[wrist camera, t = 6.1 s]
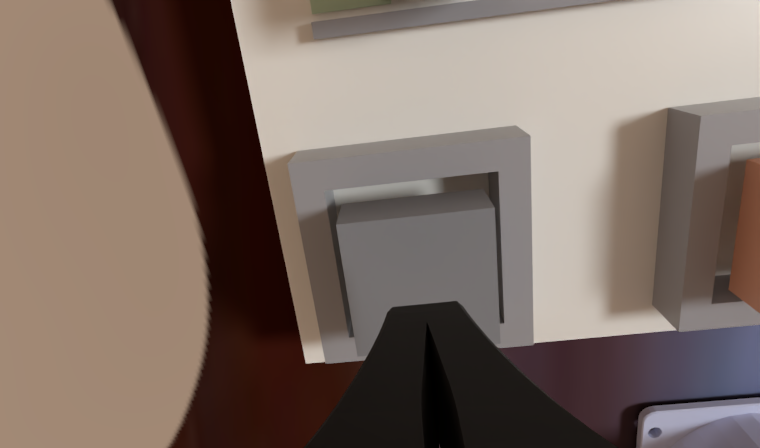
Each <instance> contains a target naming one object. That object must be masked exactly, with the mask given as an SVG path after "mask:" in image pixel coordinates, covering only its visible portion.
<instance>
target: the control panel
mask: <svg viewBox="0 0 760 448" xmlns="http://www.w3.org/2000/svg"><path fill="white" fill-rule="evenodd" d="M230 1H231V5H232V10H233V15H234V20H235V25H236V29H237V34H238V39H239V44H240V49H241V53H242V58H243V63H244V68H245V73H246V77H247V82H248V87H249V92H250V97H251V102H252V106H253V111H254V116H255V121H256V126H257V130H258V135H259V140H260V145H261V150H262V154H263V159H264V164H265V169H266V174H267V178H268V183H269V188H270V193H271V198H272V202H273V207H274V212H275V217H276V222H277V226H278V231H279V236H280V241H281V246H282V251H283V255H284V260H285V265H286V270H287V275H288V279H289V284H290V289H291V294H292V299H293V303H294V308H295V313H296V318H297V323H298V327H299V332H300V337H301V342H302V347H303V351H304V356H305V361H306V363H318V362H325V363H326V364H328V363H339V362H350V361H361V360H365V359H366V357H367V356H360V357H357V351H356V344H355V338H354V332H353V326H352V320H351V314H350V308H349V302H348V296H347V289H346V283H345V277H344V271H343V265H342V259H341V253H340V247H339V240H338V234H337V228H336V223H337V219H338V216H339V212H340V209H341V206H342V204H346V203H356V202H365V201H374V200H383V199H392V198H401V197H410V196H419V195H428V194H437V193H447V192H456V191H465V190H474V189H484V191H485V192H486V194H487V196H488V197H489V199H490V201H491V202H492V204H493V206H494V207H495V225H496V248H497V272H498V295H499V318H500V342H501V344H495V345H496V346H497V347H498V348H506V347H517V346H528V345H534V343H539V342H550V341H561V340H572V339H583V338H594V337H605V336H616V335H627V334H639V333H650V332H661V331H672V330H677V331H678V332H683V331H694V330H705V329H716V328H728V327H739V326H750V325H760V313H759V312H757V311H756V310H755V309H753V308H752V307H751V306H749V305H748V304H747V303H745V302H744V301H743V300H741V299H740V298H739V297H737V296H736V295H735V294H733V293H732V292H731V291H729V290H728V289H729V282H730V275H731V268H732V261H733V253H734V246H735V239H736V232H737V225H738V218H739V211H740V204H741V197H742V189H743V182H744V175H745V168H746V161H747V159H756V158H760V0H230Z"/></svg>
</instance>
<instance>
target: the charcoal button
mask: <svg viewBox="0 0 760 448" xmlns="http://www.w3.org/2000/svg"><path fill="white" fill-rule="evenodd" d="M336 228H337V234H338V240H339V247H340V253H341V259H342V265H343V271H344V277H345V283H346V289H347V296H348V302H349V308H350V314H351V320H352V326H353V332H354V338H355V344H356V351H357V357H360V356H367V355H368V354H369V352H370V350H371V348H372V346H373V344H374V342H375V340H376V338H377V336H378V334H379V332H380V330H381V327H382V325H383V323H384V320H385V317H386V314H387V312H388V311H389V310H390V309H391V308H392V307H398V306H408V305H418V304H429V303H439V302H449V301H458V302H459V303H460V304H461V305H462V306H463V307H464V308H465V310H466V311H467V312H468V314H469V315H470V316H471V318H472V319H473V320H474V321H475V323H476V324H477V325H478V326H479V327H480V329H481V330H482V331H483V332H484V333H485V334H486V336H487V337H488V338H489V339H490V340H491V341H492V342H493V343H494V344H501V342H500V318H499V295H498V272H497V248H496V225H495V207H494V206H493V204H492V202H491V201H490V199H489V197H488V196H487V194H486V192H485V191H484V189H474V190H465V191H456V192H447V193H437V194H428V195H419V196H410V197H401V198H392V199H383V200H374V201H365V202H356V203H346V204H342V206H341V209H340V212H339V216H338V219H337V223H336Z"/></svg>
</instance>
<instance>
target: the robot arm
mask: <svg viewBox="0 0 760 448" xmlns="http://www.w3.org/2000/svg"><path fill="white" fill-rule="evenodd" d="M655 427H656V428H655ZM652 428H654V429H653V430H650V429H652ZM649 430H650V431H649ZM439 444H440V448H618V447H616V446H615V445H613V444H612V443H610V442H609V441H607V440H606V439H604V438H603V437H601V436H600V435H598V434H597V433H596V432H594V431H593V430H591V429H590V428H589V427H587V426H586V425H585V424H583V423H582V422H581V421H579V420H578V419H577V418H575V417H574V416H573V415H571V414H570V413H569V412H568V411H566V410H565V409H564V408H563V407H561V406H560V405H559V404H558V403H556V402H555V401H554V400H553V399H552V398H550V397H549V396H548V395H547V394H546V393H545V392H544V391H542V390H541V389H540V388H539V387H538V386H537V385H536V384H535V383H533V382H532V381H531V380H530V379H529V378H528V377H527V376H526V375H525V374H524V373H523V372H521V371H520V370H519V369H518V368H517V367H516V366H515V365H514V364H513V363H512V362H511V361H510V360H509V359H508V358H507V357H506V356H505V355H504V354H503V353H502V352H501V351H500V350H499V348H498V347H497V346H496V345H495V344H494V343H493V342H492V341H491V340H490V339H489V338H488V337H487V336H486V334H485V333H484V332H483V331H482V330H481V329H480V327H479V326H478V325H477V324H476V323H475V321H474V320H473V319H472V318H471V316H470V315H469V314H468V312H467V311H466V310H465V308H464V307H463V306H462V305H461V304H460V303H459V302H458V301H449V302H439V303H429V304H418V305H408V306H398V307H392V308H391V309H390V310H389V311H388V312H387V314H386V317H385V320H384V323H383V325H382V327H381V330H380V332H379V334H378V336H377V338H376V340H375V342H374V344H373V346H372V348H371V350H370V352H369V354H368V355H367V357H366V359H365V361H364V362H363V364H362V366H361V368H360V370H359V371H358V373H357V375H356V376H355V378H354V380H353V381H352V383H351V384H350V386H349V387H348V389H347V390H346V392H345V393H344V395H343V396H342V398H341V399H340V401H339V402H338V404H337V405H336V407H335V408H334V410H333V411H332V412H331V414H330V415H329V416H328V418H327V419H326V420H325V422H324V423H323V425H322V426H321V427H320V428H319V430H318V431H317V432H316V434H315V435H314V436H313V437H312V438H311V440H310V441H309V442H308V443H307V445H306V446H305V447H304V448H439ZM636 448H760V397H757V398H744V399H732V400H720V401H708V402H695V403H683V404H671V405H659V406H650V407H647V408H645V409H643V410H642V411H641V412H640V414H639V417H638V429H637V442H636Z"/></svg>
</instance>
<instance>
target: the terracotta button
mask: <svg viewBox="0 0 760 448" xmlns="http://www.w3.org/2000/svg"><path fill="white" fill-rule="evenodd" d="M728 290H729V291H731V292H732V293H733V294H735V295H736V296H737V297H739V298H740V299H741V300H743V301H744V302H745V303H747V304H748V305H749V306H751V307H752V308H753V309H755V310H756V311H757V312H759V313H760V158H756V159H747V161H746V168H745V175H744V182H743V189H742V197H741V204H740V211H739V218H738V225H737V232H736V239H735V246H734V253H733V261H732V268H731V275H730V282H729V289H728Z"/></svg>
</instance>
